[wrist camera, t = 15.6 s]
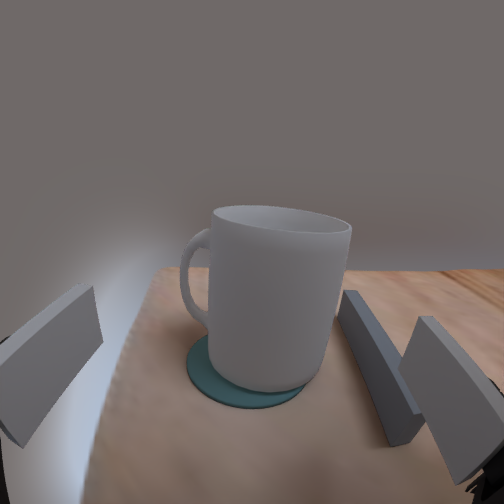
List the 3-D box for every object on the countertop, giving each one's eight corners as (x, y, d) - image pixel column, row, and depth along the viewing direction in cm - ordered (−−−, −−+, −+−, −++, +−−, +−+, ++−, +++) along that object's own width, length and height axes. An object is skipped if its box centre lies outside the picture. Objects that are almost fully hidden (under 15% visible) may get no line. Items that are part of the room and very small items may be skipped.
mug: (332, 395, 17) (377, 240, 14) (165, 389, 17) (152, 222, 13) (308, 328, 26) (328, 212, 23) (187, 321, 26) (188, 200, 22)
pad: (233, 320, 28) (234, 316, 28) (324, 355, 23) (325, 351, 23) (161, 366, 20) (161, 362, 19) (271, 430, 15) (272, 427, 15)
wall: (337, 317, 30) (343, 289, 29) (349, 317, 30) (356, 290, 29) (390, 446, 12) (413, 414, 11) (409, 442, 12) (433, 410, 11)
